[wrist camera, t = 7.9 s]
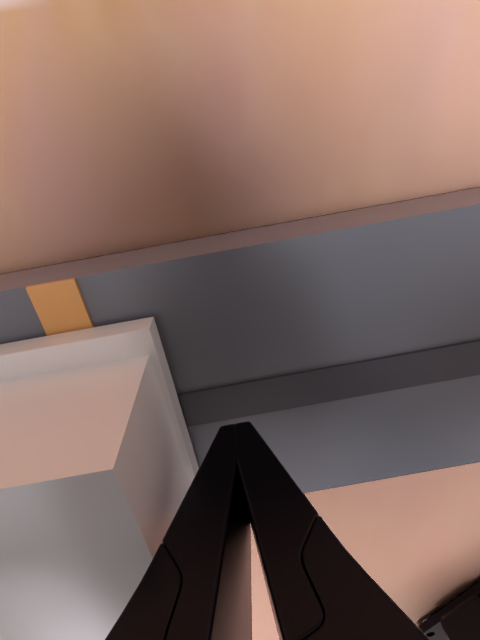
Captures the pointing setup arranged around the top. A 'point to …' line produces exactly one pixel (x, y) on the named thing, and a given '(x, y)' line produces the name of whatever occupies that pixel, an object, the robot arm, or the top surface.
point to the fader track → (302, 333)
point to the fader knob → (85, 476)
